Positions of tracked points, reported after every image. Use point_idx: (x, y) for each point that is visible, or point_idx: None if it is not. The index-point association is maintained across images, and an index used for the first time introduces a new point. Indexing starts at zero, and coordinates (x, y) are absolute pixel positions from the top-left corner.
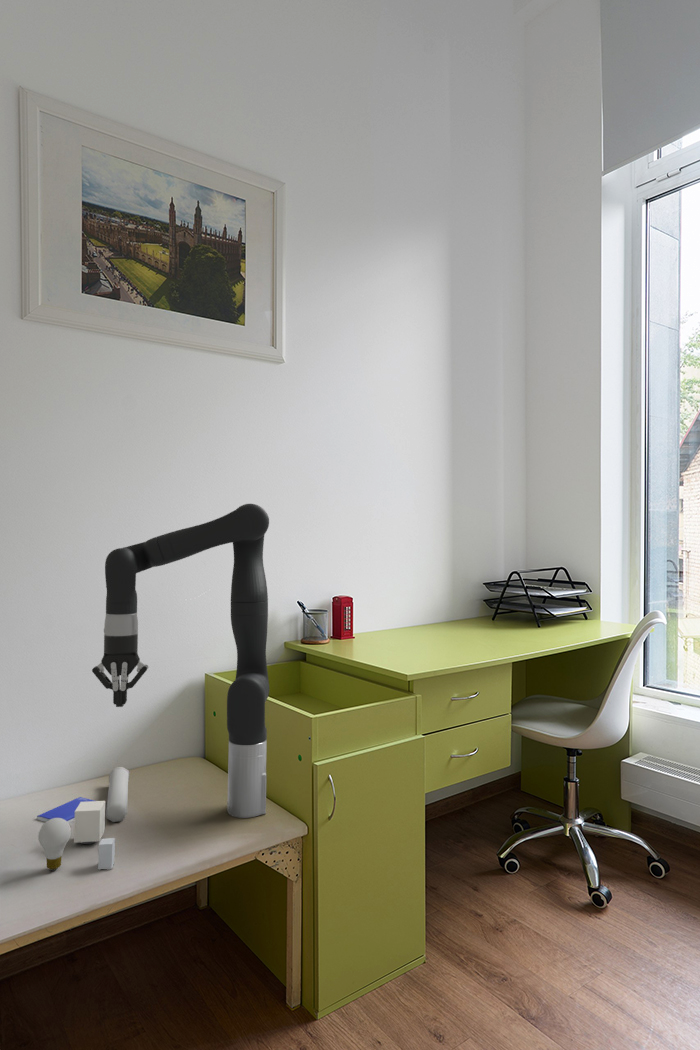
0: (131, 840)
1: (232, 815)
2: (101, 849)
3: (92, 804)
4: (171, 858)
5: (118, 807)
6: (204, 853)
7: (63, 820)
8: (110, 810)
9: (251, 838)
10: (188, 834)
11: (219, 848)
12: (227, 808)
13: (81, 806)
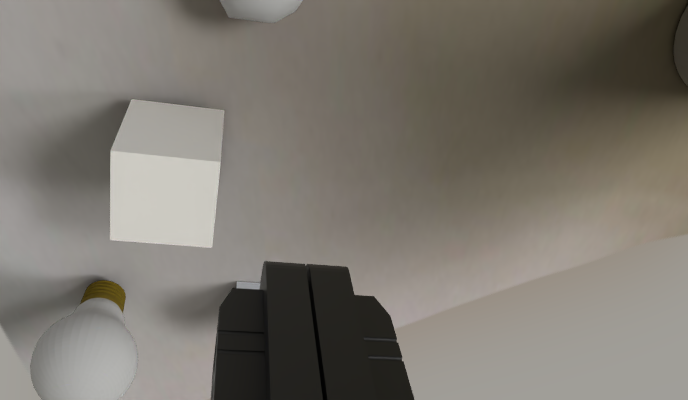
0: (319, 163)
1: (677, 68)
2: None
3: (170, 189)
4: (423, 287)
5: (269, 22)
6: (510, 279)
7: (104, 393)
8: (234, 16)
9: (654, 227)
10: (498, 164)
11: (554, 262)
12: (686, 22)
13: (126, 200)
